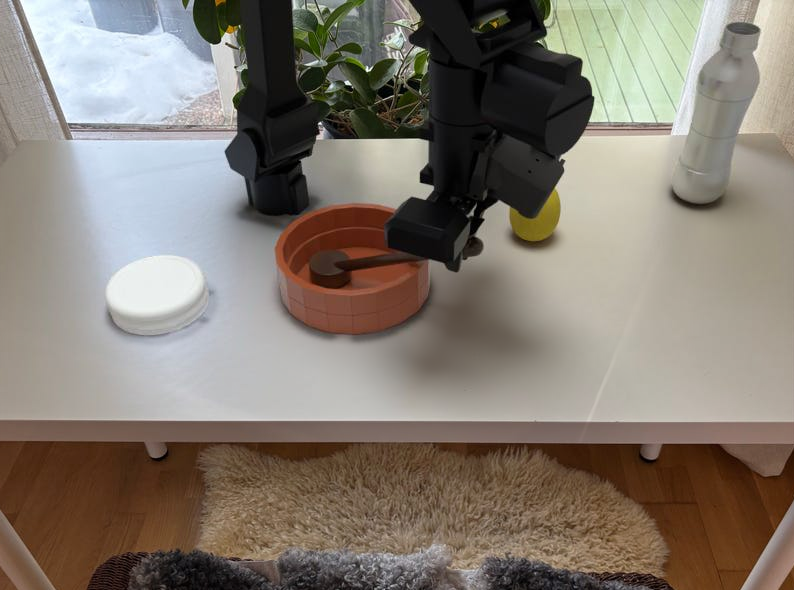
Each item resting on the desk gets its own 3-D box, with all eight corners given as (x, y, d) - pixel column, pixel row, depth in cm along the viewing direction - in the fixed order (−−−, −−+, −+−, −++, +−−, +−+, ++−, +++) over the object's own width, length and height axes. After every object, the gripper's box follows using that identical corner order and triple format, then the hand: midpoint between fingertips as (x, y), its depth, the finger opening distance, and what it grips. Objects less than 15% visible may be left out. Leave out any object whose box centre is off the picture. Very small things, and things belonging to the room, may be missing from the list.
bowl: (253, 314, 80) (244, 269, 76) (328, 234, 90) (323, 190, 86) (389, 358, 75) (387, 312, 71) (452, 267, 85) (454, 223, 81)
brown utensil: (302, 281, 82) (292, 204, 75) (323, 258, 84) (315, 182, 78) (469, 332, 76) (474, 254, 69) (485, 306, 79) (492, 228, 72)
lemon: (554, 258, 86) (563, 195, 80) (504, 253, 86) (509, 190, 81) (557, 229, 89) (566, 168, 84) (509, 225, 90) (515, 163, 85)
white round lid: (211, 273, 85) (204, 247, 82) (210, 333, 78) (204, 307, 75) (117, 285, 84) (108, 258, 81) (108, 347, 77) (98, 320, 74)
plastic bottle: (729, 190, 95) (783, 23, 81) (713, 217, 91) (766, 46, 77) (677, 175, 97) (720, 11, 83) (659, 201, 93) (701, 33, 79)
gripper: (519, 188, 54) (503, 350, 65) (593, 80, 66) (569, 232, 77) (377, 155, 58) (384, 314, 69) (471, 59, 70) (465, 207, 81)
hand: (457, 264), depth 74 cm, fingers closed on brown utensil, 2 cm apart
